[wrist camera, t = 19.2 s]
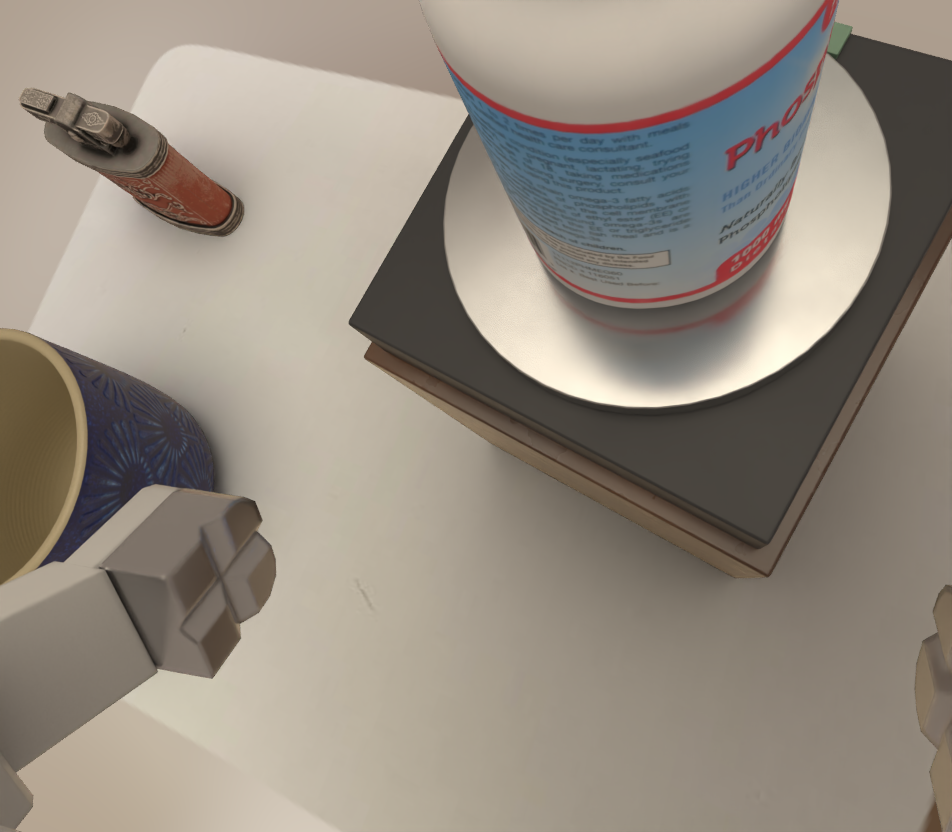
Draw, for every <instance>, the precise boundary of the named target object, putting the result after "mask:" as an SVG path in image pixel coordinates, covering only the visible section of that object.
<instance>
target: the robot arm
mask: <svg viewBox="0 0 952 832" xmlns="http://www.w3.org/2000/svg"><path fill="white" fill-rule="evenodd" d="M262 521H263V520H262V518H261V515H260V513H259V510H258V508H257V505H256V503H255V501H253V500H250V499H248V498H245V497H241V496H234V495H228V494H221V493H215V492H208V491H202V490H195V489H189V488H184V489H183V488H177V487H171V486H164V485H158V484H155V485H151V486H148V487H145V488H142V489H141V490H140V491H139V492H138V493H137V494H136V495H135V496H134V497H133V498H132V499H131V500H130V501H128V502H127V503H126V504H125V505H124V506H123V507H122V508H121V509H120V510H119V511H118V512H117V513H116V514H115V515H114V516H112V517H111V518H110V519H109V520H108V521H107V522H106V523H105V524H104V525H103V526H102V527H101V528H100V529H99V530H98V531H97V532H95V533H94V534H93V535H92V536H91V537H90V538H89V539H88V540H87V541H86V542H85V543H84V544H83V545H82V546H81V547H79V548H78V549H77V550H76V551H75V552H74V553H73V554H72V555H71V556H70V557H69V558H68V559H67V560H66V561H65V562H57V561H54V562H51V563H49V564H47V565H45V566H43V567H40V568H38V569H36V570H34V571H31V572H29V573H27V574H25V575H23V576H20V577H18V578H16V579H14V580H12V581H9V582H7V583H5V584H3V585H0V832H20V831H17V830H15V829H16V828H17V826H18V825H19V824H20V823H21V821H22V820H23V819H24V817H25V816H26V815H27V813H28V812H29V811H30V810H31V808H32V807H33V795H32V793H31V792H30V791H29V789H28V788H27V787H26V785H25V784H24V783H23V781H22V780H21V779H20V778H19V776H18V775H17V774H16V772H17V771H19V770H20V769H22V768H23V767H25V766H26V765H27V764H29V763H30V762H32V761H33V760H35V759H36V758H37V757H39V756H40V755H42V754H43V753H44V752H46V751H47V750H49V749H50V748H51V747H53V746H54V745H56V744H57V743H58V742H60V741H61V740H63V739H64V738H66V737H67V736H68V735H70V734H71V733H73V732H74V731H75V730H77V729H78V728H80V727H81V726H83V725H84V724H85V723H87V722H88V721H90V720H91V719H92V718H94V717H95V716H97V715H98V714H99V713H101V712H102V711H104V710H105V709H106V708H108V707H109V706H111V705H112V704H114V703H115V702H116V701H118V700H119V699H121V698H122V697H124V696H125V695H126V694H128V693H129V692H131V691H132V690H133V689H135V688H136V687H138V686H139V685H141V684H142V683H143V682H145V681H146V680H148V679H149V678H150V677H152V676H153V675H155V674H156V673H157V672H158V671H157V669H162V670H167V671H173V672H178V673H183V674H189V675H194V676H200V677H205V678H211V679H213V677H214V676H215V674H216V673H217V672H218V670H219V669H220V667H221V666H222V665H223V663H224V662H225V660H226V659H227V657H228V656H229V655H230V653H231V652H232V650H233V649H234V647H235V646H236V645H237V643H238V642H239V640H240V639H241V632H240V623H242V622H244V621H245V620H247V619H249V618H251V617H252V616H254V615H256V614H257V613H259V612H260V610H261V609H262V607H263V606H264V604H265V603H266V601H267V600H268V598H269V597H270V594H271V591H272V587H273V584H274V581H275V577H276V559H275V556H274V552H273V549H272V546H271V545H270V544H269V543H268V542H267V541H266V540H265V539H264V538H263V537H262V536H261V535H260V534H259V533H258V532H257V531H258V529H259V527H260V525H261V523H262ZM933 615H934V619H935V623H936V627H937V631H938V632H937V633H936V634H934V635H932V636H930V637H929V638H927V639H925V640H923V642H922V645H921V649H920V652H919V656H918V660H917V663H916V676H915V699H916V710H917V715H918V720H919V725H920V730H921V732H922V733H923V734H924V735H925V737H926V738H927V739H928V740H929V741H930V742H931V743H932V744H933V745H934V746H935V747H936V748H937V749H938V750H937V753H936V755H935V758H934V761H933V763H932V766H931V769H930V771H929V773H930V777H931V782H932V786H933V791H934V795H935V800H936V805H937V809H938V813H939V818H940V823H941V827H942V832H952V585H945V587H944V588H943V589H942V590H941V591H940V593H939V594H938V597H937V600H936V603H935V606H934V609H933Z"/></svg>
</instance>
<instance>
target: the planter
mask: <svg viewBox="0 0 952 832" xmlns="http://www.w3.org/2000/svg"><path fill="white" fill-rule="evenodd" d="M155 484H158V485H164V486H171V487H177V488H183V489H184V488H189V489H195V490H202V491H208V492H213V490H214V469H213V461H212V456H211V452H210V448H209V445H208V442H207V440H206V438H205V436H204V434H203V432H202V430H201V429H200V427H199V425H198V424H197V422H196V421H195V420H194V418H193V417H192V416H191V415H190V414H189V413H188V412H187V411H186V410H185V409H184V408H183V407H182V406H181V405H180V404H179V403H177V402H176V401H175V400H173V399H172V398H171V397H169V396H168V395H166V394H164V393H163V392H161V391H159V390H158V389H156V388H154V387H152V386H150V385H149V384H147V383H145V382H143V381H141V380H139V379H137V378H134V377H132V376H130V375H128V374H126V373H123V372H121V371H119V370H117V369H114V368H112V367H109V366H107V365H105V364H102V363H100V362H97V361H95V360H93V359H90V358H88V357H86V356H83V355H81V354H78V353H76V352H73V351H71V350H69V349H66V348H64V347H61V346H59V345H56V344H54V343H51V342H49V341H47V340H44V339H42V338H39V337H37V336H35V335H32V334H30V333H27V332H23V331H19V330H15V329H4V328H2V329H1V328H0V585H3V584H5V583H7V582H9V581H12V580H14V579H16V578H18V577H20V576H23V575H25V574H27V573H29V572H31V571H34V570H36V569H38V568H40V567H43V566H45V565H47V564H49V563H51V562H54V561H57V562H65V561H66V560H67V559H68V558H69V557H70V556H71V555H72V554H73V553H74V552H75V551H76V550H77V549H78V548H79V547H81V546H82V545H83V544H84V543H85V542H86V541H87V540H88V539H89V538H90V537H91V536H92V535H93V534H94V533H95V532H97V531H98V530H99V529H100V528H101V527H102V526H103V525H104V524H105V523H106V522H107V521H108V520H109V519H110V518H111V517H112V516H114V515H115V514H116V513H117V512H118V511H119V510H120V509H121V508H122V507H123V506H124V505H125V504H126V503H127V502H128V501H130V500H131V499H132V498H133V497H134V496H135V495H136V494H137V493H138V492H139V491H140V490H141V489H142V488H145V487H148V486H151V485H155Z"/></svg>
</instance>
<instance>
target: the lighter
mask: <svg viewBox="0 0 952 832" xmlns="http://www.w3.org/2000/svg"><path fill="white" fill-rule="evenodd" d="M19 101H20V106H21V107H22V108H23V109H25V110H26V111H28V112H29V113H30V114H32V115H33V116H35V117H36V118H38V119H39V120H42V121H45V122H46V123H45V129H44V134H45V138H46V140H47V141H48V142H49V143H50V144H52V145H53V146H55V147H56V148H57V149H59V150H60V151H62V152H63V153H65V154H66V155H68V156H69V157H70V158H72V159H73V160H75V161H77V162H79V163H81V164H83V165H85V166H87V167H89V168H91V169H93V170H95V171H97V172H99V173H100V174H102V175H103V176H105V177H106V178H108V179H109V180H111V181H112V182H113V183H115V184H116V185H118V186H119V187H121V188H122V189H124V190H125V191H127V192H128V193H129V194H131V195H132V196H133V198H134V200H135V201H136V202H137V203H139V204H140V205H142V206H143V207H144V208H146V209H147V210H149V211H150V212H151V213H153V214H154V215H156V216H157V217H159V218H160V219H162V220H164V221H166V222H168V223H170V224H172V225H174V226H176V227H178V228H181V229H185V230H188V231H192V232H195V233H199V234H206V235H213V236H226V235H228V234H230V233H232V232H233V231H234V230H235V229H236V228H237V227H238V225H239V224H240V222H241V220H242V217H243V212H244V207H243V204H242V202H241V201H240V199H239V198H238V197H236V196H235V195H234V194H233V193H232V192H230V191H229V190H227V189H226V188H224V187H223V186H221V185H220V184H218V183H216V182H215V181H213V180H211V179H209V178H208V177H207V176H206V175H205V174H203V173H202V172H201V171H200V170H199V169H197V168H196V167H195V166H194V165H193V164H191V163H190V162H189V161H188V160H187V159H185V158H184V157H183V156H182V155H181V154H179V153H178V152H177V151H176V150H175V149H174V148H173V147H172V146H171V145H169V144H168V142H167V139H166V138H165V137H164V136H163V135H162V134H161V133H160V132H159V131H158V130H156V129H155V128H154V127H153V126H151V125H150V124H148V123H146V122H145V121H143V120H142V119H140V118H139V117H137V116H135V115H133V114H131V113H129V112H126V111H124V110H122V109H119V108H117V107H114V106H110V105H106V104H101V103H96V102H90V101H86V100H85V99H83V98H81V97H80V96H77V95H75V94H72V93H68V94H67V96H66V98H64V97H61V96H57V95H54V94H51V93H48V92H45V91H42V90H39V89H35V88H25V89H24V90H23V92H22V93H21V95H20V97H19Z"/></svg>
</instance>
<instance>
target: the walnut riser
mask: <svg viewBox="0 0 952 832" xmlns="http://www.w3.org/2000/svg"><path fill="white" fill-rule="evenodd" d="M951 238H952V206H951V208H950V210H949V212H948V213H947V215H946V217H945V219H944V221H943V223H942V225H941V226H940V228H939V230H938V232H937V234H936V236H935V238H934V239H933V241H932V243H931V245H930V247H929V249H928V251H927V252H926V254H925V256H924V258H923V260H922V262H921V264H920V265H919V267H918V269H917V271H916V273H915V275H914V277H913V279H912V280H911V282H910V284H909V286H908V288H907V290H906V292H905V293H904V295H903V297H902V299H901V301H900V303H899V305H898V306H897V308H896V310H895V312H894V314H893V316H892V318H891V319H890V321H889V323H888V325H887V327H886V329H885V331H884V332H883V334H882V336H881V338H880V340H879V342H878V344H877V345H876V347H875V349H874V351H873V353H872V355H871V357H870V358H869V360H868V362H867V364H866V366H865V368H864V370H863V371H862V373H861V375H860V377H859V379H858V381H857V383H856V384H855V386H854V388H853V390H852V392H851V394H850V396H849V397H848V399H847V401H846V403H845V405H844V407H843V409H842V410H841V412H840V414H839V416H838V418H837V420H836V422H835V423H834V425H833V427H832V429H831V431H830V433H829V435H828V436H827V438H826V440H825V442H824V444H823V446H822V448H821V449H820V451H819V453H818V455H817V457H816V459H815V461H814V462H813V464H812V466H811V468H810V470H809V472H808V474H807V476H806V477H805V479H804V481H803V483H802V485H801V487H800V489H799V490H798V492H797V494H796V496H795V498H794V500H793V502H792V503H791V505H790V507H789V509H788V511H787V513H786V515H785V516H784V518H783V520H782V522H781V524H780V526H779V528H778V529H777V531H776V533H775V535H774V537H773V539H772V541H771V542H770V543H769V544H768V545H766V546H764V547H762V548H760V549H756V548H754V547H752V546H750V545H748V544H747V543H745V542H743V541H741V540H739V539H737V538H735V537H733V536H732V535H730V534H728V533H726V532H724V531H722V530H720V529H718V528H717V527H715V526H713V525H711V524H709V523H707V522H705V521H703V520H702V519H700V518H698V517H696V516H694V515H692V514H690V513H688V512H687V511H685V510H683V509H681V508H679V507H677V506H675V505H673V504H672V503H670V502H668V501H666V500H664V499H662V498H660V497H658V496H657V495H655V494H653V493H651V492H649V491H647V490H645V489H643V488H641V487H640V486H638V485H636V484H634V483H632V482H630V481H628V480H626V479H625V478H623V477H621V476H619V475H617V474H615V473H613V472H611V471H610V470H608V469H606V468H604V467H602V466H600V465H598V464H596V463H595V462H593V461H591V460H589V459H587V458H585V457H583V456H581V455H580V454H578V453H576V452H574V451H572V450H570V449H568V448H566V447H565V446H563V445H561V444H559V443H557V442H555V441H553V440H551V439H549V438H548V437H546V436H544V435H542V434H540V433H538V432H536V431H534V430H533V429H531V428H529V427H527V426H525V425H523V424H521V423H519V422H518V421H516V420H514V419H512V418H510V417H508V416H506V415H504V414H503V413H501V412H499V411H497V410H495V409H493V408H491V407H489V406H488V405H486V404H484V403H482V402H480V401H478V400H476V399H474V398H473V397H471V396H469V395H467V394H465V393H463V392H461V391H459V390H458V389H456V388H454V387H452V386H450V385H448V384H446V383H444V382H442V381H441V380H439V379H437V378H435V377H433V376H431V375H429V374H427V373H426V372H424V371H422V370H420V369H418V368H416V367H414V366H412V365H411V364H409V363H407V362H405V361H403V360H401V359H399V358H397V357H396V356H394V355H392V354H390V353H388V352H386V351H384V350H383V349H381V348H380V347H379V346H377V345H376V344H375V343H373V342H372V343H371V345H370V346H369V348H368V350H367V352H366V353H365V355H364V358H365V359H366V360H367V361H369V362H370V363H372V364H373V365H375V366H376V367H378V368H379V369H381V370H382V371H384V372H385V373H387V374H388V375H390V376H391V377H393V378H394V379H396V380H397V381H399V382H400V383H402V384H403V385H405V386H406V387H408V388H409V389H411V390H412V391H414V392H415V393H417V394H418V395H420V396H421V397H423V398H424V399H426V400H427V401H429V402H430V403H431V404H433V405H434V406H436V407H437V408H439V409H440V410H442V411H443V412H445V413H446V414H448V415H449V416H451V417H452V418H454V419H455V420H457V421H458V422H460V423H461V424H463V425H464V426H466V427H467V428H469V429H470V430H472V431H473V432H475V433H476V434H478V435H479V436H481V437H482V438H484V439H485V440H487V441H488V442H490V443H491V444H493V445H495V446H497V447H499V448H500V449H502V450H504V451H506V452H508V453H509V454H511V455H513V456H515V457H517V458H518V459H520V460H522V461H524V462H526V463H528V464H529V465H531V466H533V467H535V468H537V469H538V470H540V471H542V472H544V473H546V474H547V475H549V476H551V477H553V478H555V479H556V480H558V481H560V482H562V483H564V484H566V485H567V486H569V487H571V488H573V489H575V490H576V491H578V492H580V493H582V494H584V495H585V496H587V497H589V498H591V499H593V500H594V501H596V502H598V503H600V504H602V505H603V506H605V507H607V508H609V509H611V510H613V511H614V512H616V513H618V514H620V515H622V516H623V517H625V518H627V519H629V520H631V521H632V522H634V523H636V524H638V525H640V526H641V527H643V528H645V529H647V530H649V531H650V532H652V533H654V534H656V535H658V536H660V537H661V538H663V539H665V540H667V541H669V542H670V543H672V544H674V545H676V546H678V547H679V548H681V549H683V550H685V551H687V552H688V553H690V554H692V555H694V556H696V557H697V558H699V559H701V560H703V561H705V562H707V563H708V564H710V565H712V566H714V567H716V568H717V569H719V570H721V571H723V572H725V573H726V574H728V575H730V576H732V577H734V578H759V577H769V576H770V575H771V574H772V572H773V570H774V568H775V566H776V564H777V562H778V560H779V559H780V557H781V555H782V553H783V551H784V549H785V547H786V546H787V544H788V542H789V540H790V538H791V536H792V534H793V533H794V531H795V529H796V527H797V525H798V523H799V521H800V520H801V518H802V516H803V514H804V512H805V510H806V508H807V506H808V505H809V503H810V501H811V499H812V497H813V495H814V493H815V492H816V490H817V488H818V486H819V484H820V482H821V480H822V479H823V477H824V475H825V473H826V471H827V469H828V467H829V465H830V464H831V462H832V460H833V458H834V456H835V454H836V452H837V451H838V449H839V447H840V445H841V443H842V441H843V439H844V438H845V436H846V434H847V432H848V430H849V428H850V426H851V424H852V423H853V421H854V419H855V417H856V415H857V413H858V411H859V410H860V408H861V406H862V404H863V402H864V400H865V398H866V397H867V395H868V393H869V391H870V389H871V387H872V385H873V384H874V382H875V380H876V378H877V376H878V374H879V372H880V370H881V369H882V367H883V365H884V363H885V361H886V359H887V357H888V356H889V354H890V352H891V350H892V348H893V346H894V344H895V343H896V341H897V339H898V337H899V335H900V333H901V331H902V329H903V328H904V326H905V324H906V322H907V320H908V318H909V316H910V315H911V313H912V311H913V309H914V307H915V305H916V303H917V302H918V300H919V298H920V296H921V294H922V292H923V290H924V288H925V287H926V285H927V283H928V281H929V279H930V277H931V275H932V274H933V272H934V270H935V268H936V266H937V264H938V262H939V261H940V259H941V257H942V255H943V253H944V251H945V249H946V248H947V246H948V244H949V242H950V240H951Z"/></svg>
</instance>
